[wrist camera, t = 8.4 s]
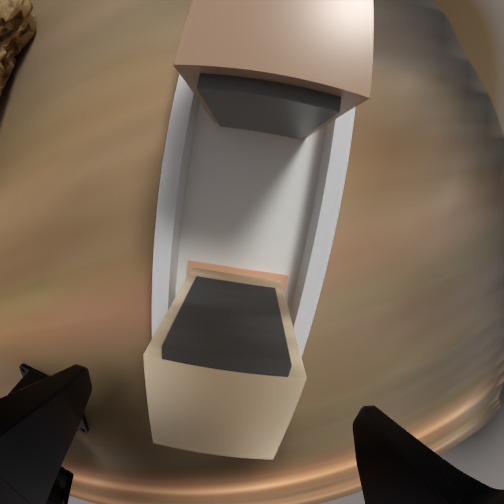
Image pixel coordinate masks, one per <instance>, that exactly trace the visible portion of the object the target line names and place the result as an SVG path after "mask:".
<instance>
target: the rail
mask: <svg viewBox="0 0 504 504" xmlns="http://www.w3.org/2000/svg"><path fill="white" fill-rule="evenodd" d="M373 33H374V12H373V0H193V2H192V4H191V7H190V10H189V13H188V16H187V19H186V22H185V25H184V28H183V32H182V35H181V38H180V42H179V45H178V49H177V52H176V56H175V60H174V63H173V65H174V66H175V68H176V69H177V71H178V72H179V73H180V74H179V78H178V82H177V87H176V91H175V96H174V101H173V105H172V110H171V115H170V121H169V126H168V132H167V137H166V143H165V150H164V156H163V163H162V170H161V178H160V186H159V194H158V203H157V213H156V224H155V237H154V252H153V273H152V338H153V336H154V334H155V333H156V331H157V329H158V327H159V325H160V324H161V322H162V320H163V318H164V316H165V315H166V313H167V311H168V309H169V308H170V306H171V304H172V302H173V301H174V299H175V297H176V296H177V294H178V292H179V290H180V289H181V287H182V285H183V284H184V282H185V280H186V278H187V277H188V275H189V273H190V272H191V270H192V268H199V269H205V270H212V271H218V272H225V273H231V274H238V275H244V276H251V277H258V278H264V279H271V280H278V281H280V282H281V285H282V289H283V292H284V296H285V299H286V303H287V307H288V310H289V314H290V317H291V321H292V325H293V328H294V332H295V336H296V339H297V343H298V347H299V351H300V354H301V357H302V354H303V351H304V348H305V345H306V341H307V338H308V335H309V331H310V328H311V324H312V321H313V317H314V314H315V310H316V307H317V303H318V299H319V296H320V292H321V288H322V284H323V280H324V276H325V272H326V268H327V264H328V260H329V256H330V251H331V247H332V242H333V238H334V233H335V229H336V224H337V219H338V214H339V209H340V204H341V199H342V194H343V188H344V183H345V177H346V171H347V165H348V159H349V152H350V145H351V138H352V131H353V124H354V115H355V107H356V106H357V105H359V104H361V103H362V102H364V101H366V100H367V99H369V98H370V92H371V79H372V63H373Z"/></svg>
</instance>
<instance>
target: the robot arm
mask: <svg viewBox="0 0 504 504" xmlns="http://www.w3.org/2000/svg"><path fill="white" fill-rule="evenodd" d="M19 368H20V371H21V373H22V376H23V378H22V379H21V380H20V382H19V383H18V384H17V385H16V386H15V387H14V388H13V389H12V391H11V392H10V393H9V394H8V395H7V396H5V397H2V398H0V504H68V498H69V494H70V489H71V484H72V479H73V473H71V472H70V471H68V470H66V469H64V468H63V467H62V466H61V464H62V462H63V460H64V458H65V455H66V453H67V451H68V449H69V447H70V444H71V442H72V440H73V438H74V436H75V434H76V432H77V430H78V431H81V432H83V433H88V431H89V428H88V426H87V423H86V421H85V418H84V415H83V413H84V410H85V408H86V405H87V402H88V399H89V397H90V394H91V391H92V384H91V380H90V376H89V371H88V369H87V368H86V367H83V366H81V365H77V364H76V365H73V366H71V367H69V368H67V369H65V370H62V371H60V372H58V373H56V374H54V375H52V376H47V375H45V374H43V373H41V372H39V371H37V370H35V369H33V368H31V367H29V366H27V365H25V364H21V365H20V367H19ZM353 435H354V443H355V453H356V461H357V467H358V472H359V476H360V481H361V485H362V490H363V495H364V500H365V504H504V490H499V489H494V488H491V487H489V486H487V485H485V484H483V483H481V482H480V481H478V480H476V479H474V478H472V477H470V476H469V475H467V474H465V473H463V472H462V471H460V470H459V469H457V468H455V467H454V466H453V465H451V464H450V463H448V462H447V461H446V460H443V459H442V458H441V457H440V456H439V455H437V454H436V453H435V452H433V451H432V450H431V449H429V448H428V447H427V446H425V445H424V444H423V443H421V442H420V441H419V440H418V439H416V438H415V437H414V436H412V435H411V434H410V433H408V432H407V431H406V430H405V429H403V428H402V427H401V426H399V425H398V424H397V423H396V422H394V421H393V420H392V419H391V418H389V417H388V416H387V415H386V414H384V413H383V412H382V411H381V410H379V409H378V408H377V407H375V406H363V407H362V408H361V410H360V411H359V413H358V415H357V417H356V418H355V420H354V422H353Z"/></svg>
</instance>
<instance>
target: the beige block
mask: <svg viewBox="0 0 504 504" xmlns="http://www.w3.org/2000/svg"><path fill="white" fill-rule="evenodd" d="M143 358H144V372H145V383H146V394H147V403H148V411H149V419H150V426H151V433H152V439H153V443H156V444H160V445H164V446H168V447H173V448H178V449H183V450H188V451H194V452H199V453H206V454H213V455H220V456H229V457H239V458H252V459H272V460H273V459H274V456H275V454H276V452H277V450H278V448H279V445H280V443H281V441H282V439H283V436H284V434H285V432H286V430H287V427H288V425H289V422H290V420H291V418H292V415H293V413H294V410H295V408H296V405H297V403H298V400H299V398H300V395H301V392H302V390H303V387H304V385H305V382H306V379H307V377H306V373H305V370H304V366H303V362H302V358H301V354H300V351H299V347H298V343H297V339H296V336H295V332H294V328H293V325H292V321H291V317H290V314H289V310H288V307H287V303H286V299H285V296H284V292H283V289H282V285H281V282H280V281H278V280H271V279H264V278H258V277H251V276H244V275H238V274H231V273H225V272H218V271H212V270H205V269H199V268H192V270H191V272H190V273H189V275H188V277H187V278H186V280H185V282H184V284H183V285H182V287H181V289H180V290H179V292H178V294H177V296H176V297H175V299H174V301H173V302H172V304H171V306H170V308H169V309H168V311H167V313H166V315H165V316H164V318H163V320H162V322H161V324H160V325H159V327H158V329H157V331H156V333H155V334H154V336H153V338H152V340H151V342H150V343H149V345H148V347H147V349H146V351H145V353H144V354H143Z"/></svg>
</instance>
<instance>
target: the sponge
mask: <svg viewBox="0 0 504 504" xmlns="http://www.w3.org/2000/svg"><path fill="white" fill-rule="evenodd" d="M32 9H33V6H32V3H31V2H30V0H0V96H1V94H2V89H3V88H4V87H5V85H6V82H7V80H8V78H9V76H10V74H11V73H12V70H13V68H14V63H15V62H17V61H16V59H15V58H14V56H16V55H17V54H19V53H20V51H21V49H22V48H23V47H24V46H25V45H27V43H28V42H29V41H30V39H31V38H32V37H33V35H34V33H35V28H36V24H37V23H36V14H35V15H32V14H31V11H32Z"/></svg>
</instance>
